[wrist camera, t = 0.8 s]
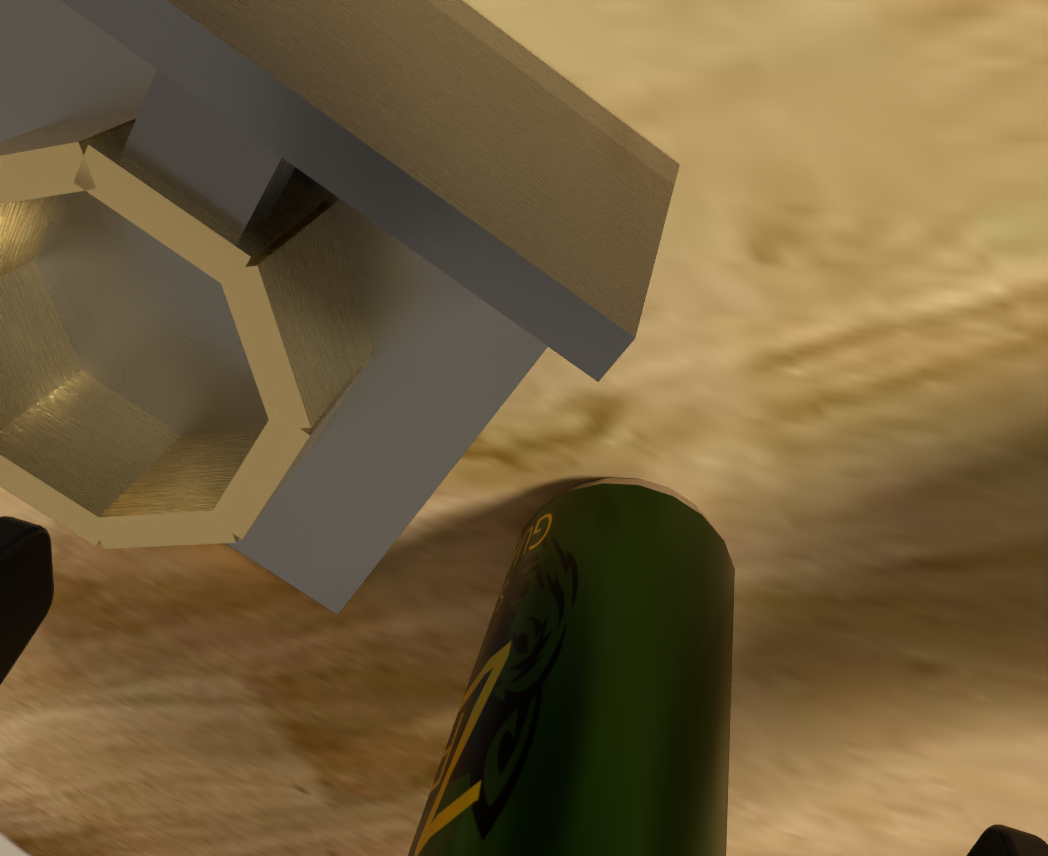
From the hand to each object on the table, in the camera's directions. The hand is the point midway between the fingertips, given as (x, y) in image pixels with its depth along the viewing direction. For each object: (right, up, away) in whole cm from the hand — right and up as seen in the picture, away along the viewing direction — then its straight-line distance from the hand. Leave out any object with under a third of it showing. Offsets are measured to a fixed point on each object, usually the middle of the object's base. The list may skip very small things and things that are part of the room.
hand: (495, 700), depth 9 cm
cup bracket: (-6, +7, +13) cm, 16 cm away
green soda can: (+3, -1, +16) cm, 16 cm away
